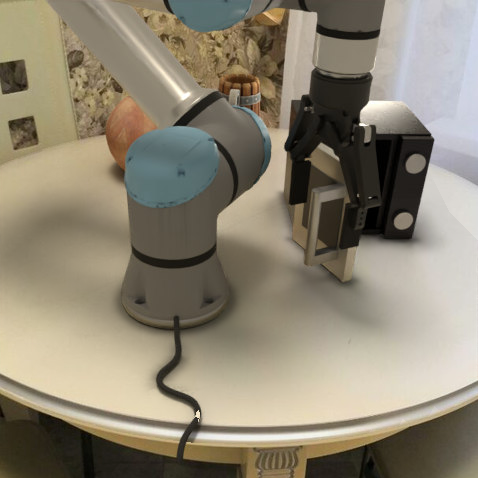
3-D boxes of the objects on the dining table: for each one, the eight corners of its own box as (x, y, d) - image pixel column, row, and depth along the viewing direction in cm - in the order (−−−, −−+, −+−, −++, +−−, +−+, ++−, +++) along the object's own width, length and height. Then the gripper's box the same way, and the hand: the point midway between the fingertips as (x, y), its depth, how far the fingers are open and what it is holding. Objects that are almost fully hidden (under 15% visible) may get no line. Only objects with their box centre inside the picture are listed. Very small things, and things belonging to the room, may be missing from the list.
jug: (215, 178, 123) (216, 75, 111) (130, 196, 115) (122, 87, 104) (175, 146, 136) (172, 51, 124) (96, 160, 128) (85, 60, 116)
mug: (217, 137, 141) (218, 69, 132) (263, 141, 140) (267, 73, 131) (204, 164, 128) (205, 91, 119) (255, 169, 127) (259, 96, 118)
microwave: (413, 241, 105) (436, 139, 94) (297, 242, 104) (307, 138, 93) (385, 193, 120) (403, 101, 109) (283, 193, 118) (291, 99, 108)
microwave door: (313, 290, 92) (327, 180, 81) (264, 245, 102) (271, 142, 92) (351, 279, 94) (369, 172, 84) (300, 236, 105) (310, 135, 95)
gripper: (434, 98, 68) (397, 262, 80) (315, 42, 85) (300, 183, 98) (378, 105, 65) (349, 274, 77) (267, 46, 83) (258, 191, 95)
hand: (321, 223), depth 88 cm, fingers open, 13 cm apart
